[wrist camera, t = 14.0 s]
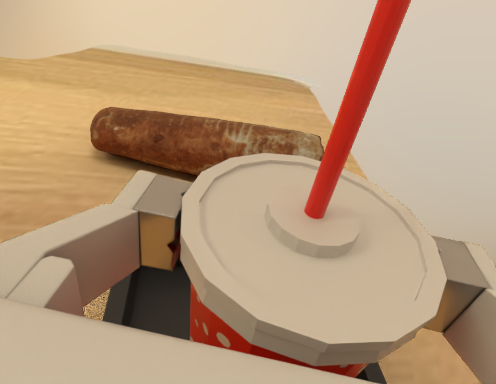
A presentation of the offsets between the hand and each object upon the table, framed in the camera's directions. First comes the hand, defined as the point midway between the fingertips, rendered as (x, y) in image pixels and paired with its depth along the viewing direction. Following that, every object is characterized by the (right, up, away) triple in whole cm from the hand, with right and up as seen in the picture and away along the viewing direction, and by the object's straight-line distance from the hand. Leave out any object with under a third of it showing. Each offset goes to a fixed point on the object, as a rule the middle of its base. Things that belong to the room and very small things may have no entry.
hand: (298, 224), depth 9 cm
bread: (-6, +2, +19) cm, 20 cm away
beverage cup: (-1, -7, +4) cm, 8 cm away
